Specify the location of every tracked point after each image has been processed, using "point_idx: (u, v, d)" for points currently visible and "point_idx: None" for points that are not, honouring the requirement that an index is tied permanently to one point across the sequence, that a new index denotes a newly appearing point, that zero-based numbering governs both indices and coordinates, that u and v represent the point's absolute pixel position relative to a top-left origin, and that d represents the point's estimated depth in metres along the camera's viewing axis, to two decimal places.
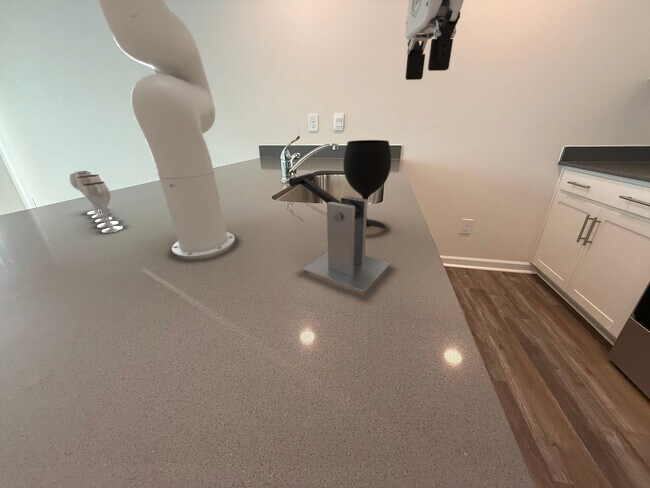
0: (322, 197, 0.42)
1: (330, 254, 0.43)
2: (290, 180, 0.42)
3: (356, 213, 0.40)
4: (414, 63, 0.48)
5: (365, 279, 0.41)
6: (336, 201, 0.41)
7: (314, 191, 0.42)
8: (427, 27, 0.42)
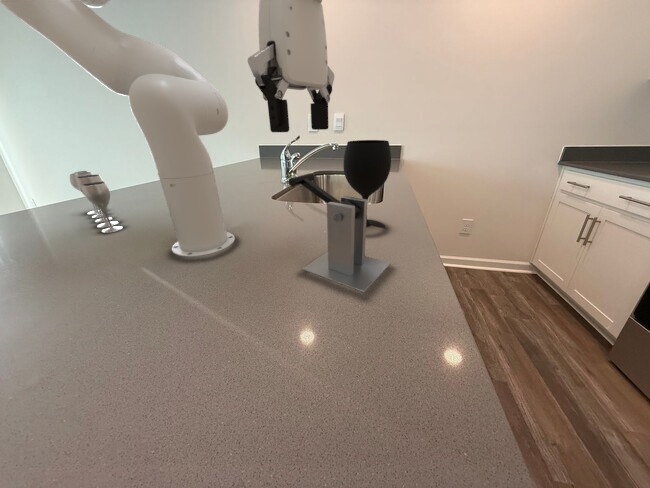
0: (322, 197, 0.42)
1: (330, 254, 0.43)
2: (290, 180, 0.42)
3: (356, 213, 0.40)
4: (316, 113, 0.43)
5: (365, 279, 0.41)
6: (336, 201, 0.41)
7: (314, 191, 0.42)
8: (290, 82, 0.38)
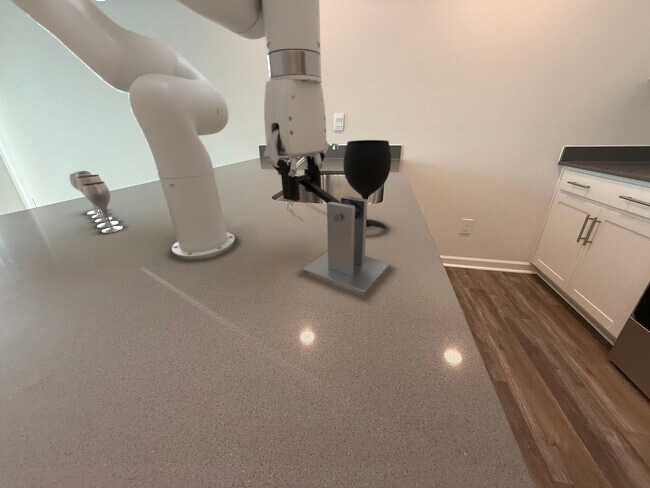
0: (322, 197, 0.42)
1: (330, 254, 0.43)
2: None
3: (356, 213, 0.40)
4: None
5: (365, 279, 0.41)
6: (336, 201, 0.41)
7: (314, 191, 0.42)
8: None
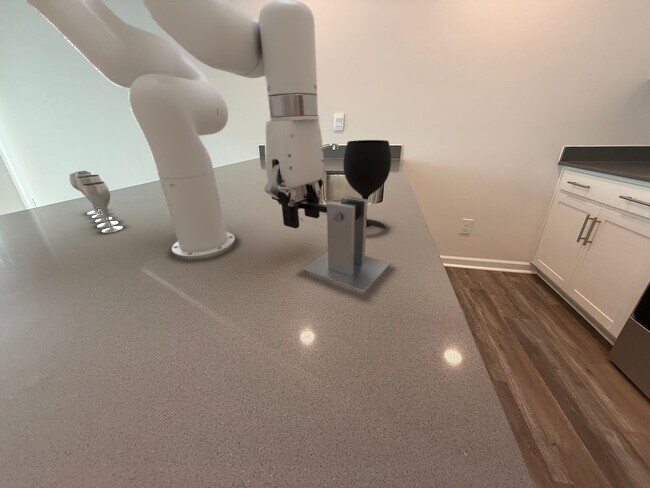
0: (320, 209, 0.43)
1: (330, 254, 0.43)
2: None
3: (355, 208, 0.40)
4: None
5: (365, 279, 0.41)
6: None
7: (312, 208, 0.44)
8: None
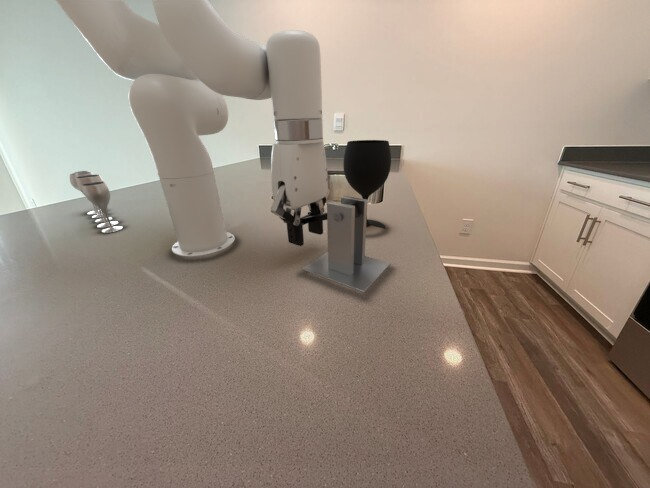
0: (322, 218, 0.43)
1: (330, 254, 0.43)
2: None
3: None
4: None
5: (365, 279, 0.41)
6: None
7: (314, 219, 0.45)
8: None
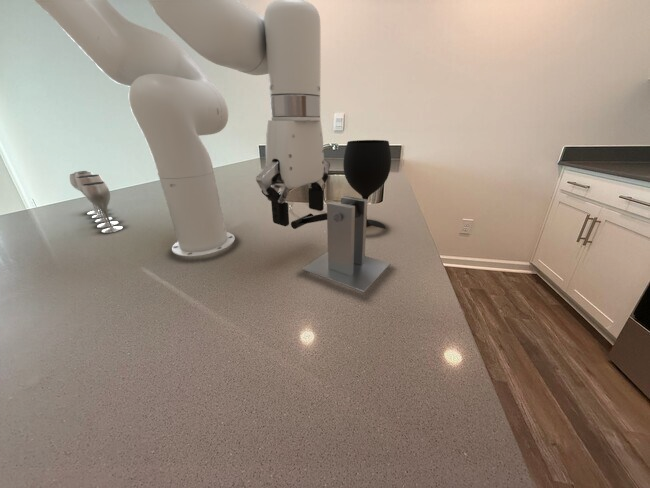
0: (322, 218, 0.43)
1: (330, 254, 0.43)
2: (292, 224, 0.46)
3: None
4: (313, 197, 0.49)
5: (365, 279, 0.41)
6: None
7: (314, 219, 0.45)
8: None
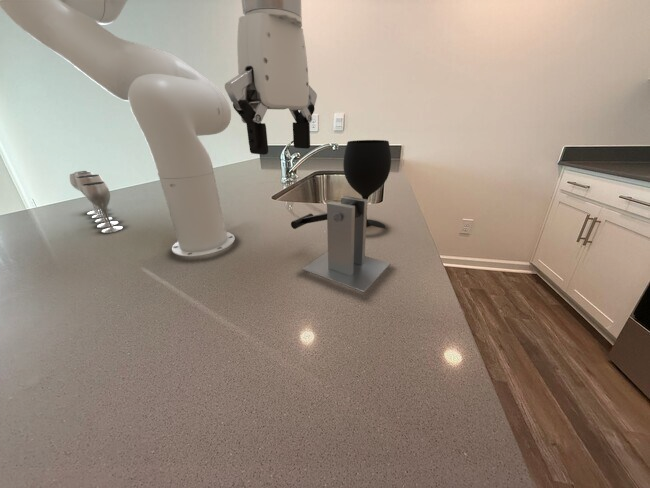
0: (322, 218, 0.43)
1: (330, 254, 0.43)
2: (292, 224, 0.46)
3: None
4: (298, 132, 0.43)
5: (365, 279, 0.41)
6: None
7: (314, 219, 0.45)
8: None
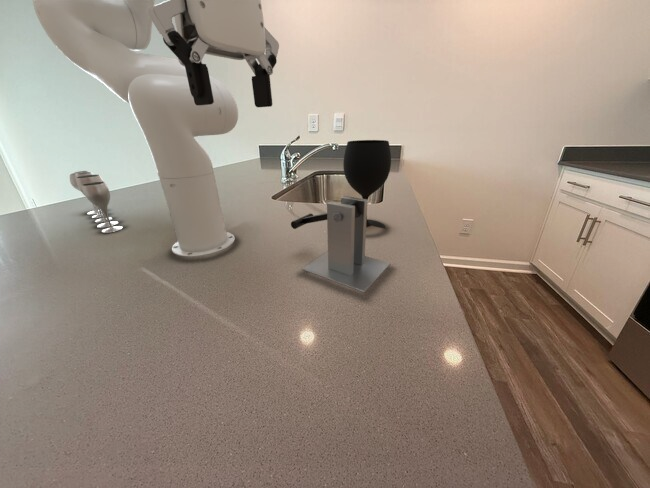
0: (322, 218, 0.43)
1: (330, 254, 0.43)
2: (292, 224, 0.46)
3: None
4: (257, 87, 0.38)
5: (365, 279, 0.41)
6: None
7: (314, 219, 0.45)
8: None
